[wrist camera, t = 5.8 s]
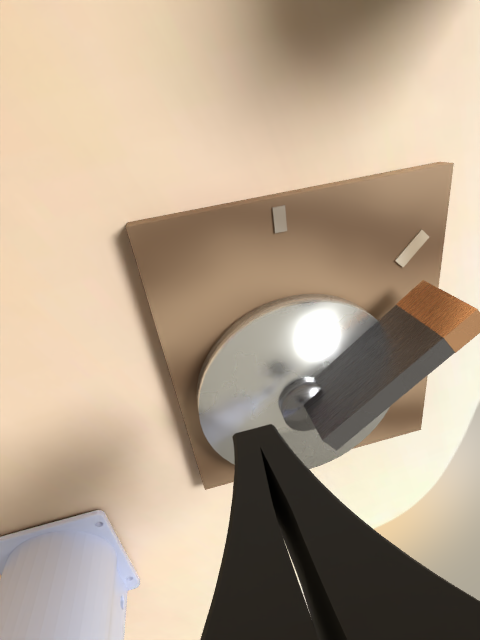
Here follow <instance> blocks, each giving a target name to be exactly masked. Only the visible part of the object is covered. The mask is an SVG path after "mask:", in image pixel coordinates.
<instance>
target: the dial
mask: <svg viewBox="0 0 480 640" xmlns="http://www.w3.org/2000/svg"><path fill="white" fill-rule="evenodd" d="M479 333H480V312H479V311H478V309H476V308H474V307H472V306H471V305H469V304H467V303H465V302H463V301H461V300H459V299H458V298H456V297H454V296H452V295H450V294H448V293H446V292H445V291H443V290H441V289H439V288H437V287H435V286H433V285H431V284H430V283H428V282H426V281H424V280H422V281H421V282H420V283H419V284H418V285H417V286H416V287H415V288H413V289H412V290H411V291H410V292H409V293H408V294H407V295H406V296H404V297H403V298H402V299H401V300H400V301H399V302H398V303H397V304H396V305H395V306H394V307H393V308H392V309H391V310H390V311H389V312H387V313H386V314H385V315H384V316H383V317H382V318H381V319H380V320H379V321H378V320H377V319H376V318H374V317H373V316H372V315H371V314H370V313H368V312H367V311H366V310H365V309H363V308H362V307H360V306H358V305H357V304H355V303H353V302H351V301H349V300H346V299H344V298H340V297H336V296H333V295H325V294H301V295H293V296H288V297H285V298H281V299H277V300H274V301H272V302H269V303H267V304H264V305H262V306H260V307H258V308H256V309H254V310H253V311H251V312H249V313H247V314H246V315H245V316H243V317H242V318H240V319H239V320H237V321H236V322H235V323H234V324H233V325H232V326H231V327H229V328H228V329H227V330H226V331H225V332H224V333H223V334H222V336H221V337H220V338H219V339H218V340H217V341H216V343H215V344H214V346H213V347H212V348H211V350H210V351H209V353H208V355H207V357H206V359H205V361H204V363H203V365H202V368H201V371H200V374H199V379H198V384H197V404H198V411H199V417H200V424H201V427H202V430H203V433H204V435H205V437H206V438H207V440H208V442H209V443H210V445H211V446H212V447H213V449H214V450H215V451H216V452H217V453H218V454H219V455H221V456H222V457H223V458H224V459H226V460H227V461H229V462H230V463H232V464H234V465H235V457H234V444H233V438H232V437H233V435H234V434H235V433H239V432H242V431H246V430H250V429H254V428H258V427H261V426H265V425H269V424H272V425H274V426H275V427H276V429H277V430H278V432H279V433H280V435H281V436H282V438H283V439H284V440H285V442H286V443H287V444H288V446H289V447H290V448H291V449H292V451H293V452H294V453H295V454H296V455H297V457H298V458H299V459H300V460H301V461H302V462H303V463H304V465H305V466H306V467H307V468H308V469H311V468H314V467H317V466H320V465H323V464H325V463H327V462H330V461H332V460H334V459H336V458H338V457H340V456H341V455H343V454H345V453H346V452H348V451H349V450H351V449H352V448H354V447H355V446H356V445H358V444H359V443H360V442H361V441H362V440H364V439H365V438H366V437H367V436H368V435H369V434H370V433H371V432H372V431H373V430H374V429H375V428H376V426H377V425H378V424H379V423H380V421H381V420H382V419H383V417H384V416H385V414H386V412H387V411H388V409H389V408H390V406H391V405H392V404H393V403H395V402H396V401H397V400H398V399H399V398H401V397H402V396H403V395H404V394H406V393H407V392H408V391H409V390H410V389H412V388H413V387H414V386H415V385H416V384H418V383H419V382H420V381H421V380H422V379H424V378H425V377H426V376H427V375H428V374H430V373H431V372H432V371H433V370H434V369H436V368H437V367H438V366H439V365H440V364H442V363H443V362H444V361H445V360H446V359H448V358H449V357H450V356H451V355H452V354H454V353H456V352H457V351H458V350H460V349H461V348H462V347H463V346H464V345H466V344H467V343H468V342H469V341H470V340H472V339H473V338H474V337H475V336H476V335H478V334H479Z"/></svg>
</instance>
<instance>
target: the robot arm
mask: <svg viewBox="0 0 480 640" xmlns="http://www.w3.org/2000/svg"><path fill="white" fill-rule="evenodd" d="M232 438H233V444H234V457H235V467H234V486H233V498H232V505H231V513H230V521H229V527H228V533H227V539H226V544H225V549H224V554H223V558H222V563H221V567H220V571H219V576H218V580H217V584H216V588H215V592H214V595H213V599H212V603H211V606H210V609H209V613H208V616H207V620H206V623H205V626H204V630H203V633H202V636H201V640H480V601H478V600H477V599H475V598H474V597H472V596H470V595H469V594H467V593H465V592H464V591H462V590H460V589H459V588H457V587H455V586H454V585H452V584H451V583H449V582H448V581H446V580H444V579H443V578H441V577H440V576H438V575H436V574H435V573H433V572H432V571H430V570H429V569H427V568H426V567H425V566H423V565H422V564H420V563H419V562H417V561H416V560H414V559H413V558H411V557H410V556H409V555H407V554H406V553H404V552H403V551H402V550H400V549H399V548H398V547H396V546H395V545H393V544H392V543H391V542H389V541H388V540H387V539H385V538H384V537H382V536H381V535H380V534H379V533H377V532H376V531H375V530H374V529H372V528H371V527H370V526H369V525H368V524H366V523H365V522H364V521H363V520H361V519H360V518H359V517H358V516H357V515H356V514H354V513H353V512H352V511H351V510H350V509H349V508H347V507H346V506H345V505H344V504H343V503H342V502H341V501H340V500H339V499H338V498H337V497H335V496H334V495H333V494H332V493H331V492H330V491H329V490H328V489H327V488H326V487H325V486H324V485H323V484H322V483H321V482H320V481H319V480H318V479H317V478H316V477H315V476H314V474H313V473H312V472H311V471H310V470H309V469H308V468H307V467H306V466H305V465H304V463H303V462H302V461H301V460H300V459H299V458H298V457H297V455H296V454H295V453H294V452H293V451H292V449H291V448H290V447H289V446H288V444H287V443H286V442H285V440H284V439H283V438H282V436H281V435H280V433H279V432H278V430H277V429H276V427H275V426H274V425H272V424H269V425H265V426H261V427H258V428H254V429H250V430H246V431H242V432H239V433H235V434H234V435H233V437H232ZM284 541H285V542H284ZM285 544H286V545H285ZM286 546H287V548H286ZM287 549H288V551H289V554H290V556H291V559H292V562H293V564H294V567H295V569H296V572H297V575H298V577H299V580H300V583H301V586H302V589H303V592H304V596H305V599H306V602H307V605H308V608H307V605H306V602H305V600H304V597H303V594H302V591H301V588H300V585H299V583H298V580H297V577H296V574H295V571H294V568H293V565H292V563H291V560H290V557H289V554H288V551H287ZM0 575H1V578H0V640H124V633H125V618H126V604H127V591H128V590H131V589H135V588H137V587H138V586H139V585H140V578H139V576H138V575H137V573H136V571H135V569H134V567H133V565H132V563H131V561H130V560H129V558H128V556H127V554H126V552H125V550H124V548H123V546H122V544H121V543H120V541H119V539H118V537H117V535H116V533H115V531H114V529H113V528H112V526H111V524H110V522H109V520H108V518H107V516H106V514H105V513H104V512H103V511H101V510H95V511H92V512H88V513H84V514H81V515H77V516H73V517H70V518H66V519H63V520H59V521H55V522H52V523H48V524H44V525H41V526H37V527H34V528H30V529H26V530H23V531H19V532H15V533H12V534H8V535H5V536H1V537H0ZM308 609H309V611H308ZM309 612H310V613H309ZM310 615H311V616H310Z"/></svg>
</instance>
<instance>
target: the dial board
mask: <svg viewBox="0 0 480 640" xmlns="http://www.w3.org/2000/svg"><path fill="white" fill-rule="evenodd" d="M453 164H454V163H446V162H437V163H432V164H427V165H421V166H416V167H411V168H406V169H401V170H396V171H390V172H385V173H380V174H375V175H370V176H365V177H360V178H354V179H349V180H344V181H339V182H334V183H329V184H324V185H318V186H313V187H308V188H303V189H298V190H293V191H288V192H282V193H277V194H272V195H267V196H262V197H257V198H251V199H246V200H241V201H236V202H231V203H226V204H221V205H215V206H210V207H205V208H200V209H195V210H190V211H185V212H179V213H174V214H169V215H164V216H159V217H154V218H149V219H143V220H138V221H133V222H128V223H127V225H126V230H127V233H128V237H129V240H130V243H131V247H132V250H133V253H134V256H135V260H136V263H137V266H138V270H139V273H140V276H141V280H142V283H143V286H144V290H145V293H146V296H147V300H148V303H149V306H150V309H151V313H152V316H153V319H154V323H155V326H156V329H157V333H158V336H159V339H160V343H161V346H162V349H163V353H164V356H165V359H166V362H167V366H168V369H169V372H170V376H171V379H172V382H173V386H174V389H175V392H176V396H177V399H178V402H179V406H180V409H181V412H182V415H183V419H184V422H185V425H186V429H187V432H188V435H189V439H190V442H191V445H192V449H193V452H194V455H195V459H196V462H197V465H198V468H199V472H200V475H201V478H202V482H203V485H204V488H205V490H206V489H210V488H213V487H217V486H221V485H224V484H228V483H231V482H234V467H235V465H234V464H232V463H230V462H229V461H227V460H226V459H224V458H223V457H222V456H221V455H219V454H218V453H217V452H216V451H215V450H214V449H213V447H212V446H211V445H210V443H209V442H208V440H207V438H206V437H205V435H204V433H203V430H202V427H201V424H200V417H199V411H198V404H197V384H198V379H199V374H200V371H201V368H202V365H203V363H204V361H205V359H206V357H207V355H208V353H209V351H210V350H211V348H212V347H213V346H214V344H215V343H216V341H217V340H218V339H219V338H220V337H221V336H222V334H223V333H224V332H225V331H226V330H227V329H228V328H229V327H231V326H232V325H233V324H234V323H235V322H236V321H237V320H239V319H240V318H242V317H243V316H245V315H246V314H247V313H249V312H251V311H253V310H254V309H256V308H258V307H260V306H262V305H264V304H267V303H269V302H272V301H274V300H277V299H281V298H285V297H288V296H293V295H301V294H325V295H333V296H336V297H340V298H344V299H346V300H349V301H351V302H353V303H355V304H357V305H358V306H360V307H362V308H363V309H365V310H366V311H367V312H368V313H370V314H371V315H372V316H373V317H374V318H376V319H377V320H378V321H379V320H380V319H381V318H382V317H383V316H384V315H385V314H386V313H387V312H389V311H390V310H391V309H392V308H393V307H394V306H395V305H396V304H397V303H398V302H399V301H400V300H401V299H402V298H403V297H404V296H406V295H407V294H408V293H409V292H410V291H411V290H412V289H413V288H415V287H416V286H417V285H418V284H419V283H420V282H421V281H422V280H424V281H426V282H428V283H430V284H431V285H433V286H435V287H437V288H438V286H439V278H440V270H441V262H442V254H443V245H444V237H445V229H446V221H447V213H448V205H449V197H450V189H451V181H452V172H453ZM426 383H427V376H426V377H425V378H424V379H422V380H421V381H420V382H419V383H418V384H416V385H415V386H414V387H413V388H412V389H410V390H409V391H408V392H407V393H406V394H404V395H403V396H402V397H401V398H399V399H398V400H397V401H396V402H395V403H393V404H392V405H391V406H390V408H389V409H388V411H387V412H386V414H385V416H384V417H383V419H382V420H381V421H380V423H379V424H378V425H377V426H376V428H375V429H374V430H373V431H372V432H371V433H370V434H369V435H368V436H367V437H366V438H365V439H364V440H362V441H361V442H360V443H359V444H358V445H356V446H355V447H354V448H357V447H360V446H364V445H368V444H371V443H375V442H378V441H382V440H385V439H389V438H393V437H396V436H400V435H403V434H407V433H411V432H414V431H418V430H421V424H422V416H423V408H424V399H425V391H426ZM352 449H353V448H352Z"/></svg>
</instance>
